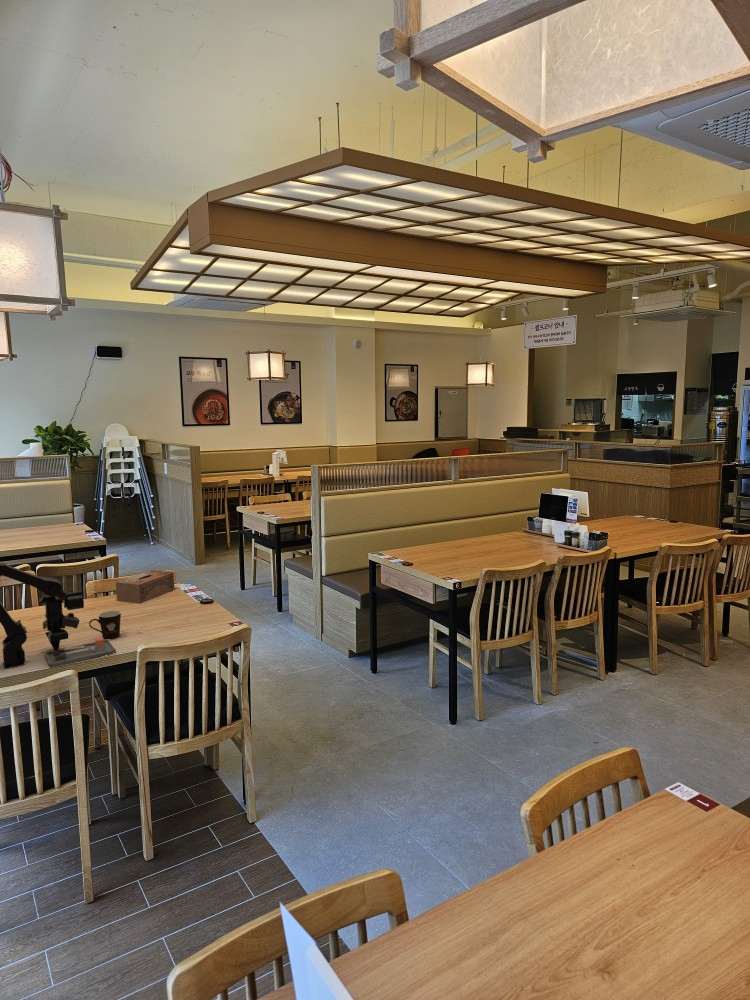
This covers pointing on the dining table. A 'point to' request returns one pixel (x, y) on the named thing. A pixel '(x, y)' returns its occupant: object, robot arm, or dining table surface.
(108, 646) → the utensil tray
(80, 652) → the tongs fixed body
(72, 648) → the bar
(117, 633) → the coffee mug
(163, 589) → the tissue box cover
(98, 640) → the tab
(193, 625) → the dining table surface
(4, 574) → the robot arm
